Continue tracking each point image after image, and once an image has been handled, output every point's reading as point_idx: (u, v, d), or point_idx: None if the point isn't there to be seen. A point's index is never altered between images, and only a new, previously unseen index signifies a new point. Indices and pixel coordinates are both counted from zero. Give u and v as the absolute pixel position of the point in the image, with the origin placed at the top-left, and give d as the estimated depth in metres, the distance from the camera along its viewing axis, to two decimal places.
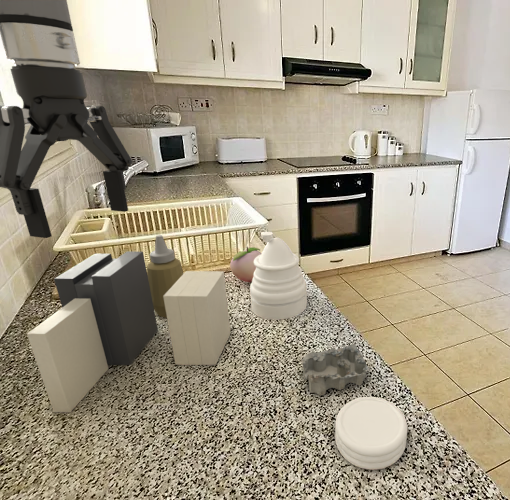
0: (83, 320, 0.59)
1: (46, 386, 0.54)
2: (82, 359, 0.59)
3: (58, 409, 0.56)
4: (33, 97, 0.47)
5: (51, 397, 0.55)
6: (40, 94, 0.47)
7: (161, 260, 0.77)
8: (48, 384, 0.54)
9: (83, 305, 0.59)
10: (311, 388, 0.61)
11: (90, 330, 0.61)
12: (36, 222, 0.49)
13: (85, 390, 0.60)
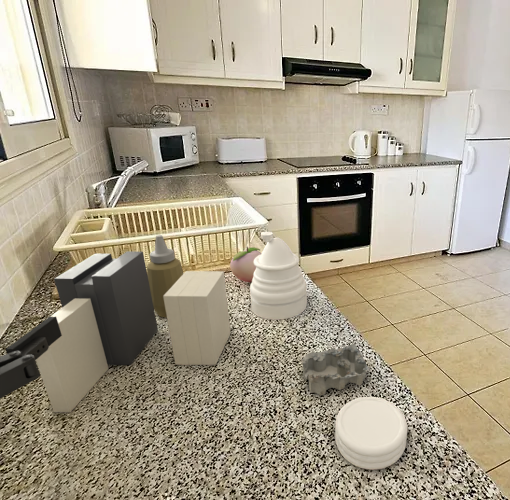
0: (83, 320, 0.59)
1: (46, 386, 0.54)
2: (82, 359, 0.59)
3: (58, 409, 0.56)
4: None
5: (51, 397, 0.55)
6: None
7: (161, 260, 0.77)
8: (48, 384, 0.54)
9: (83, 305, 0.59)
10: (311, 388, 0.61)
11: (90, 330, 0.61)
12: None
13: (85, 390, 0.60)
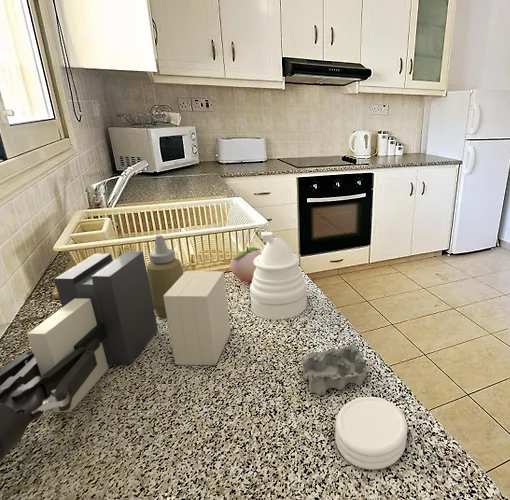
0: (83, 320, 0.59)
1: None
2: None
3: (58, 409, 0.56)
4: None
5: None
6: None
7: (161, 260, 0.77)
8: None
9: (83, 305, 0.59)
10: (311, 388, 0.61)
11: (90, 330, 0.61)
12: None
13: (85, 390, 0.60)
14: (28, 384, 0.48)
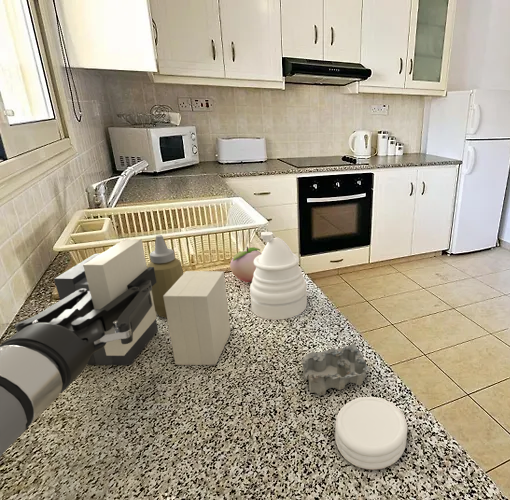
0: (135, 260, 0.55)
1: None
2: None
3: (111, 352, 0.52)
4: None
5: None
6: None
7: (161, 260, 0.77)
8: None
9: (135, 244, 0.55)
10: (311, 388, 0.61)
11: None
12: None
13: (137, 335, 0.56)
14: (87, 315, 0.45)
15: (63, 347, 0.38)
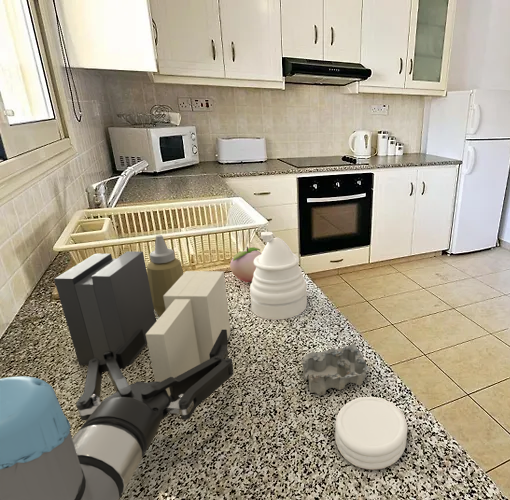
0: (186, 321, 0.59)
1: None
2: (185, 359, 0.59)
3: None
4: None
5: None
6: None
7: (161, 260, 0.77)
8: None
9: (186, 305, 0.59)
10: (311, 388, 0.61)
11: (190, 331, 0.61)
12: None
13: None
14: (159, 384, 0.49)
15: (141, 421, 0.42)
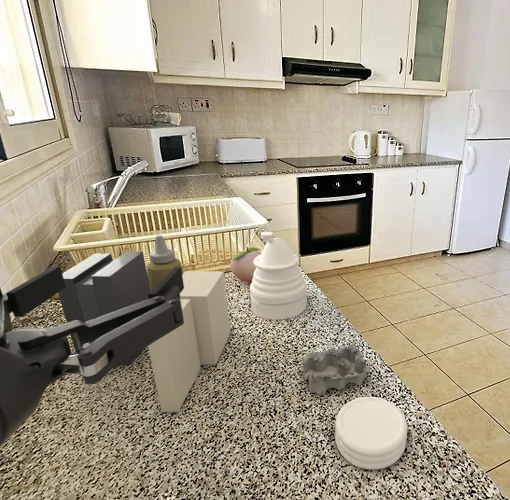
0: (186, 321, 0.59)
1: (158, 386, 0.55)
2: (185, 359, 0.59)
3: (166, 409, 0.57)
4: None
5: (161, 397, 0.56)
6: None
7: (161, 260, 0.77)
8: (160, 384, 0.55)
9: (186, 305, 0.59)
10: (311, 388, 0.61)
11: (190, 331, 0.61)
12: None
13: (187, 390, 0.60)
14: (54, 329, 0.30)
15: None
